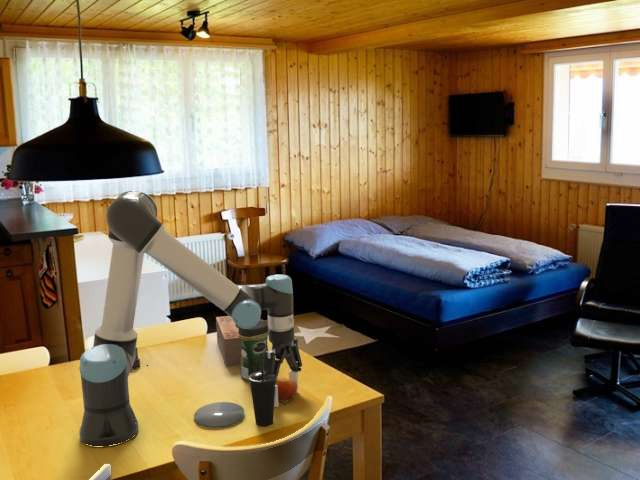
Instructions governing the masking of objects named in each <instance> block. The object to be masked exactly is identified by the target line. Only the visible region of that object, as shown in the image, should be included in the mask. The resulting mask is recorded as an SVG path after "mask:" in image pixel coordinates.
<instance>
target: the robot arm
mask: <svg viewBox="0 0 640 480" xmlns="http://www.w3.org/2000/svg"><path fill="white" fill-rule="evenodd" d="M105 214H106V215H105V221H106V224H107V227H108V236H107V237H108V239H109V240H110V242H111V243H112V250H111V255H110V262H109V263H110V264H109V271H108V277H107V287H106V292H105V293H106V294H105V300H104V307H103V314H102V320H101V321H102V322H101V325H100V326H99V327H98V328H96V329H95V331H94V337H93V345H92V347H91V348H88V349H86V350H85V351H84V352H83V353H82V354H81V356H80V358H79V369H78V370H79V374H80V381H81V390H82V399H83V400H82V401H83V410H84V411H83V416H82V421H81V426H80V428H79V440H81V441H82V442H83V443H85V444H88V445H92V446H109V445H113V444H118V443H121V442H124V441H126V440H128V439H130V438H132V437H133V436H134V435H136V436H137V435H138V433H139V430H138V429H139V421H138V419H137V417H136V415H135V412H134V410H133V408H132V406H131V402H130V390H129V376H130V373H131V371H132V369H133V368H132V366H133V364H134V362H135V359H136V354H137V351H138V350H137V351H136V347H137V342H138V333H137V331H136V330H135V329H134V323H135V317H136V312H137V311H136V310H137V304H138V298H139V297H138V296H139V291H140V290H139V289H140V282H141V278H142V277H141V275H142V269H143V263H144V256H145V254H146V255H148V256H149V257H151V259H153V260H154V261H156V263H158V264H160V265H161V266H163V267H164V268H165V269H167V270H168V271H169V272H170V273H172V274H173V275H175V276H176V277H178V278H179V279H180V280H182V281H183V283H186V284H187V285H188V286H190V288H192V289H194V290H195V291H196V292H197V293H199V294H200V295H201V296H203V297H205V299H207V300H208V301H209V302H210V303H212V304H214V306H216V307H218V308H219V309H220V310H221V311H223V312H224V313H225V314H227V316H231V317H232V319H233V321H234V322H235V324H236V325H237V326H238V327H240V328H243V329H249V328H252V327H254V326H255V325H257V324H258V322H259V320H260V319H261V315H262V311H265V310H266V311H267V325H268V332H269V335H268V341H269V342H270V343H271V345H272V346H271V350H270V351H269V350H268V351H266V362H265V370H264V371H269V372H273V373H275V374H276V376H277V378H278V377H279V372H280V368H281V364H283V362H284V360H285V361H286V363H287V365H288V367H289V369H290V370H289V371H288V379H291V380H293V381H294V382H296V384H297V390H296V392H295V394H296V393H299V372H301V371H302V367H303V363H302V358H301V354H300V349H299V346H298V344H299V341H298V338H295V328H294V326H295V324H294V323H295V319H294V291H293V281H292V278H291V277H290V276H289V275H286V274H273V275H269V276H267V277H266V279H265V283H259V284H258V283H257V284H235V283H234V282H233V281H231V280H230V279H229V278H227V277H226V276H225V275H224V274H222V273H221V272H220V271H218V270H217V269H216V268H214V267H213V265H212V264H209V263H208V262H207V261H205V260H204V259H203V258H202V257H200V256H199V255H197V254H196V253H195V252H194V251H192V250H191V249H190V248H189V247H187V246H186V245H185V244H183V243H182V242H180V241H179V240H178V239H177V238H175V237H174V236H173V235H172V234H170V233H169V232H167V230H165V225H164V224H163V222H161V221H159V220H158V219H157V217H158V208H157V204H156V201H154V199H153V197H152V196H150V195H149V194H148V193H146V192H145V191H140V190H127V191H125V192H122V193H121V194H119V195H118V197H117V198H115V199H114V200H113V201H112V202H111V203H110V205H109V206H108V207H107V210H106V213H105ZM131 368H132V369H131ZM277 378H276V379H275V399H274V408H278V407H279V401H278V387H277V385H276V381H277ZM137 432H138V433H137ZM134 437H135V436H134ZM134 437H133V438H134ZM133 438H132V439H133ZM130 440H131V439H130ZM81 441H80V442H81ZM82 442H81V443H82ZM83 443H82V444H83ZM124 443H125V442H124Z"/></svg>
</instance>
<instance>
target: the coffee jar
mask: <svg viewBox="0 0 640 480" xmlns="http://www.w3.org/2000/svg"><path fill="white" fill-rule="evenodd" d="M268 330H269V327H268V321H266V320H264V319H262V318H260V320H259V322H258V324H257V325H255V326H254V327H252V328H249V329H243V328H240V327H239V330H238V335H239V338H240V340H241V365H240V376H241V377H242V378H243V379H244V380H247V381H249V379H248V377H249V375H250V374H252V373H255V372H257V371H261V360H260V354H263V371H264V370H265V362H266V351H269V347H268V340H269V332H268Z"/></svg>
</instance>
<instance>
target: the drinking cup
mask: <svg viewBox="0 0 640 480" xmlns="http://www.w3.org/2000/svg"><path fill="white" fill-rule="evenodd" d="M260 360H261V371H257V372H255V373H252V374H250V375H249V377H248V379H249V380H248V381H249V386H250V392H251V399H252V407H253V413H254V420H255V425H256V426H257V427H261V428H266V427H270V426H272V425H273V424H274V417H275V416H274V414H275V413H274V412H275V407H274V399H275V379H276V378H278V377H277V376H276V374H275V373H273V372H269V371H263V354H260Z"/></svg>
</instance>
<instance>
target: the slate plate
mask: <svg viewBox="0 0 640 480" xmlns="http://www.w3.org/2000/svg"><path fill="white" fill-rule="evenodd" d="M244 417H245V409H244V407H243V406H242V405H240V404H238V403H236V402H230V401H221V402H220V401H217V402H212V403H208V404H205V405H203V406H201V407H198V408H197V409H196V410H195V412H194V414H193V418H194V420H193V421H194V422H195V423H196V424H197V425H198V426H199V427H202V428H208V429H221V428H222V429H223V428H227V427H230V426H235V425H236V424H238V423H240V422H241V421H242V420H243V419H244Z"/></svg>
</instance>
